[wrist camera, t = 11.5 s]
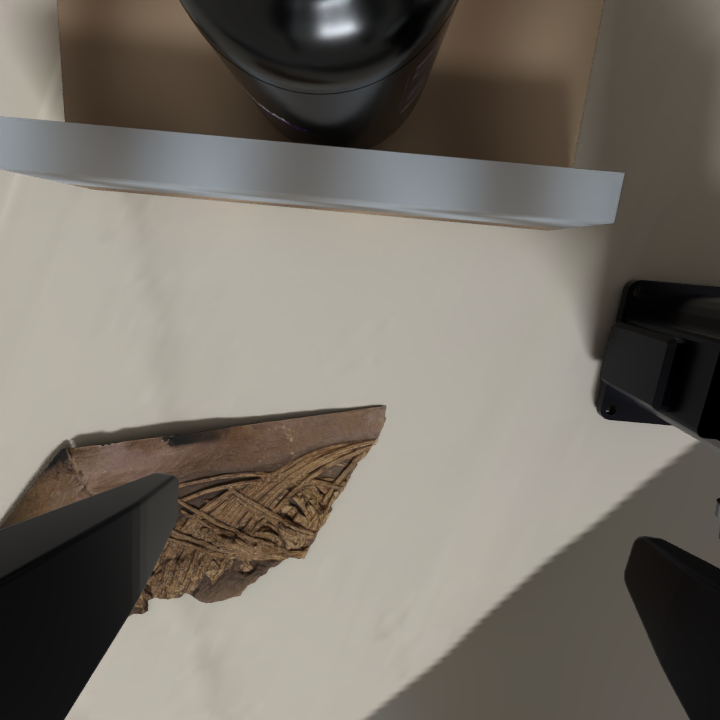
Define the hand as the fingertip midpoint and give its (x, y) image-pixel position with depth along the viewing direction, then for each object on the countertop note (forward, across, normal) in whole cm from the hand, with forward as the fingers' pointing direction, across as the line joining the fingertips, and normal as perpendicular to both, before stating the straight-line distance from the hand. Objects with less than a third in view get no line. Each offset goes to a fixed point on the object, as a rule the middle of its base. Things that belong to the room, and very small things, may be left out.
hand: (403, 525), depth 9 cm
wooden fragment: (+13, +10, +10) cm, 19 cm away
